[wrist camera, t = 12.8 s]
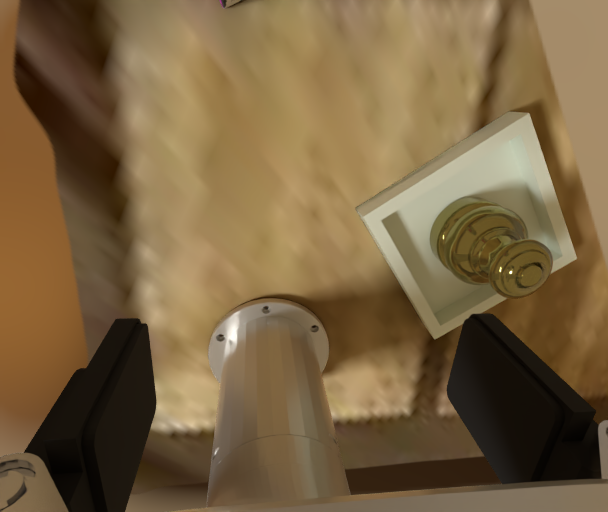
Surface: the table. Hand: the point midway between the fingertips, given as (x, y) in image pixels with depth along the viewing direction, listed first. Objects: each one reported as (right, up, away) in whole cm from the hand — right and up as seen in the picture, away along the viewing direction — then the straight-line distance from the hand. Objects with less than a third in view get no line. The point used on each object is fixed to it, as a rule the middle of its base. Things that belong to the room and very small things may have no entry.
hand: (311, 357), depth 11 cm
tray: (+16, +6, +27) cm, 32 cm away
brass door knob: (+16, +5, +27) cm, 31 cm away
